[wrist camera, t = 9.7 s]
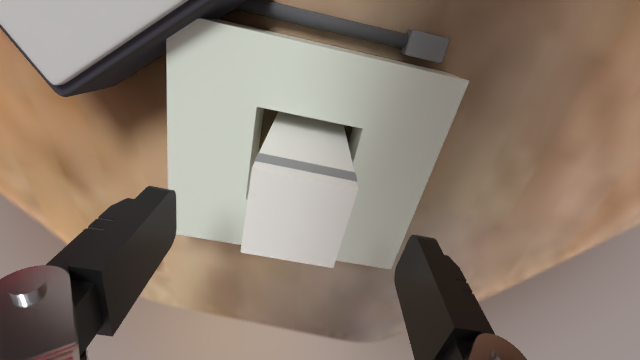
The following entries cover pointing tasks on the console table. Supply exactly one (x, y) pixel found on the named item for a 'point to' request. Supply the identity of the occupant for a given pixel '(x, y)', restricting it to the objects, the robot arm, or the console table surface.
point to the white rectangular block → (300, 192)
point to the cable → (354, 29)
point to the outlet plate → (309, 101)
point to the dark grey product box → (98, 36)
